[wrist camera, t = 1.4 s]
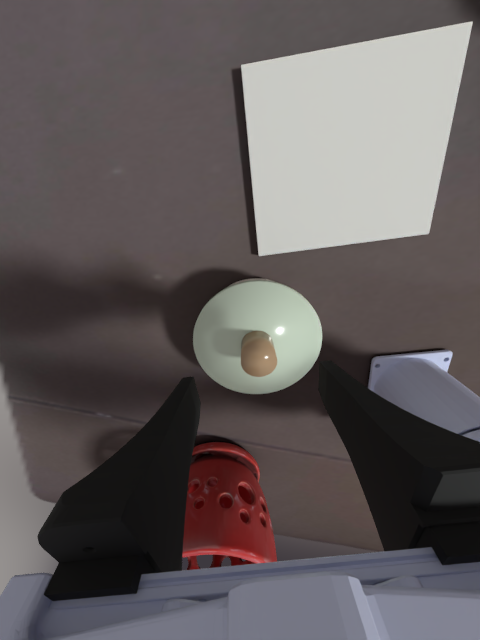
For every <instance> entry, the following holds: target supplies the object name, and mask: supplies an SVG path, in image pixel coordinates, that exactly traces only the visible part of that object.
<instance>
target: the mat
mask: <svg viewBox="0 0 480 640" xmlns="http://www.w3.org/2000/svg"><path fill="white" fill-rule="evenodd" d="M472 23H473V21H472V22H467V23H461V24H456V25H451V26H445V27H440V28H435V29H430V30H424V31H419V32H414V33H408V34H403V35H398V36H393V37H387V38H382V39H377V40H371V41H366V42H361V43H355V44H350V45H345V46H340V47H334V48H329V49H324V50H318V51H313V52H308V53H303V54H297V55H292V56H287V57H281V58H276V59H271V60H265V61H260V62H255V63H250V64H244V65H241V73H242V84H243V95H244V105H245V116H246V127H247V138H248V148H249V159H250V170H251V181H252V191H253V202H254V213H255V224H256V235H257V245H258V255H259V256H263V255H271V254H278V253H286V252H294V251H301V250H309V249H316V248H324V247H332V246H339V245H347V244H355V243H362V242H370V241H378V240H385V239H393V238H401V237H408V236H416V235H424V234H429V231H430V226H431V221H432V216H433V211H434V207H435V202H436V197H437V192H438V187H439V182H440V178H441V173H442V168H443V163H444V158H445V153H446V149H447V144H448V139H449V134H450V129H451V125H452V120H453V115H454V110H455V105H456V100H457V96H458V91H459V86H460V81H461V76H462V71H463V67H464V62H465V57H466V52H467V47H468V42H469V38H470V33H471V28H472Z"/></svg>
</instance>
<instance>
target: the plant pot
mask: <svg viewBox="0 0 480 640" xmlns="http://www.w3.org/2000/svg"><path fill="white" fill-rule="evenodd" d="M259 478H260V471H259V467H258V464H257V462H256V461H255V459H254V458H253V457H252V456H251V454H249V453H248V452H247V451H246V450H244V449H243V448H241V447H239V446H236V445H234V444H230V443H225V442H210V443H205V444H201V445H198V446H195V447H194V449H193V454H192V459H191V465H190V472H189V481H188V490H187V501H186V512H185V525H184V538H183V555H182V558H183V557H187V558H188V561H189V565H188V568H187V570H193V569H201V568H200V567H199V566H198V564H197V559H196V556H197V555H204V554H213V561H212V564H211V566H210V568H215V567H221V563H222V561H223V559H224V558H225V557H229V558H230V560H231V566H236V565H246V564H257V563H268V562H277V558H276V549H275V541H274V535H273V530H272V524H271V520H270V515H269V512H268V508H267V504H266V500H265V497H264V494H263V492H262V489H261V487H260V485H259V483H258V481H259ZM241 558H242V559H245V560H246V561H244V562H243V561H242V559H241Z"/></svg>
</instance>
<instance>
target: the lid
mask: <svg viewBox="0 0 480 640" xmlns="http://www.w3.org/2000/svg"><path fill="white" fill-rule="evenodd" d="M321 345H322V328H321V324H320V321H319V318H318V316H317V314H316V312H315V310H314V309H313V307H312V306H311V305H310V303H309V302H308V301H307V300H306V299H305V298H304V297H303V296H302V295H301V294H300V293H298V292H297V291H295V290H294V289H292V288H290V287H288V286H286V285H284V284H281V283H278V282H273V281H268V280H249V281H244V282H240V283H237V284H233V285H231V286H229V287H227V288H225V289H223V290H221V291H220V292H218V293H217V294H216V295H215V296H213V297H212V298H211V299H210V300H209V301H208V302H207V304H206V305H205V306H204V308H203V309H202V311H201V312H200V314H199V317H198V319H197V321H196V324H195V327H194V332H193V346H194V352H195V355H196V358H197V360H198V362H199V364H200V365H201V367H202V368H203V370H204V371H205V372H206V373H207V374H208V376H210V377H211V378H212V379H213V380H214V381H216V382H217V383H219V384H220V385H222V386H224V387H226V388H228V389H231V390H233V391H237V392H241V393H247V394H265V393H271V392H275V391H279V390H282V389H284V388H287V387H289V386H291V385H292V384H294V383H296V382H297V381H299V380H300V379H301V378H302V377H304V376H305V375H306V374H307V373H308V372H309V370H310V369H311V368H312V366H313V365H314V363H315V362H316V360H317V358H318V355H319V353H320V349H321Z"/></svg>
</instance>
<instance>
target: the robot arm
mask: <svg viewBox="0 0 480 640" xmlns="http://www.w3.org/2000/svg"><path fill="white" fill-rule="evenodd" d="M452 354H453V353H452V352H451V351H449V350H438V351H428V352H418V353H407V354H397V355H387V356H377V357H374V358H373V359H372V361H371V369H370V376H369V383H368V388H367V387H365V386H364V385H363V384H361V383H360V382H358V381H357V380H356V379H354V378H353V377H351V376H350V375H349V374H347V373H346V372H345V371H344V370H342V369H341V368H340V367H338V366H337V365H336V364H334V363H333V362H332V361H323V362H320V366H319V392H320V395H321V398H322V401H323V403H324V406H325V408H326V410H327V412H328V414H329V416H330V418H331V420H332V422H333V424H334V426H335V427H336V429H337V431H338V433H339V435H340V437H341V439H342V441H343V443H344V445H345V447H346V449H347V451H348V454H349V456H350V458H351V461H352V463H353V466H354V468H355V471H356V473H357V476H358V479H359V481H360V484H361V486H362V489H363V492H364V494H365V497H366V500H367V502H368V505H369V508H370V511H371V513H372V516H373V519H374V522H375V525H376V528H377V530H378V533H379V536H380V539H381V542H382V545H383V548H384V552H374V553H363V554H353V555H342V556H331V557H321V558H310V559H300V560H289V561H278V562H268V563H257V564H246V565H236V566H226V567H215V568H204V569H193V570H184V571H182V555H183V538H184V525H185V512H186V501H187V490H188V481H189V472H190V465H191V459H192V454H193V449H194V444H195V439H196V435H197V429H198V424H199V418H200V404H201V403H200V399H199V395H198V392H197V388H196V384H195V381H194V377H187V378H183V379H182V380H181V381H180V382H179V384H178V385H177V387H176V388H175V389H174V391H173V392H172V393H171V395H170V396H169V397H168V399H167V400H166V401H165V403H164V404H163V405H162V406H161V408H160V409H159V410H158V411H157V412H156V414H155V415H154V416H153V417H152V418H151V420H150V421H149V422H148V423H147V424H146V425H145V426H144V427H143V428H142V429H141V430H140V431H139V432H138V433H137V434H136V435H135V436H134V437H133V438H132V439H131V440H130V441H129V442H128V443H127V444H126V445H124V446H123V447H122V448H121V449H120V450H119V451H118V452H117V453H116V454H114V455H113V456H112V457H111V458H109V459H108V460H107V461H106V462H105V463H103V464H102V465H101V466H99V467H98V468H97V469H96V470H94V471H93V472H92V473H90V474H89V475H87V476H86V477H85V478H83V479H82V480H80V481H79V482H77V483H76V484H75V485H73V486H72V487H70V488H69V489H67V490H66V491H64V492H63V494H62V495H61V497H60V498H59V500H58V502H57V503H56V505H55V507H54V508H53V510H52V512H51V513H50V515H49V517H48V518H47V520H46V522H45V523H44V525H43V527H42V528H41V530H40V532H39V534H38V541H39V544H40V545H41V547H42V548H43V549H44V550H46V551H47V552H48V553H49V554H50V555H51V556H52V557H53V558H55V559H56V560H57V561H58V562H59V564H58V566H57V568H56V570H55V572H54V574H53V575H52V574H49V573H36V574H25V575H15V576H14V577H12V578H11V580H10V581H9V583H8V584H7V586H6V588H5V589H4V591H3V592H2V594H1V596H0V640H480V397H479V396H477V395H476V394H475V393H473V392H472V391H471V390H470V389H468V388H467V387H466V386H464V385H463V384H462V383H460V382H459V381H458V380H456V379H455V378H454V377H452V376H451V375H450V374H448V373H447V371H448V367H449V364H450V361H451V358H452ZM376 364H378V365H377V366H375V365H376Z"/></svg>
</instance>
